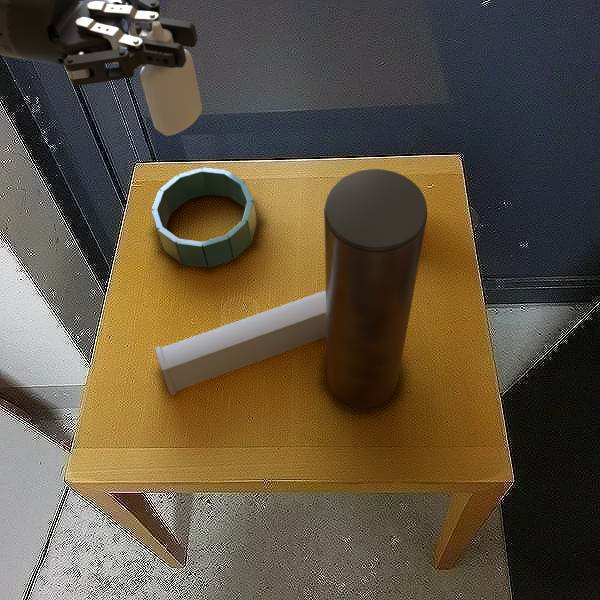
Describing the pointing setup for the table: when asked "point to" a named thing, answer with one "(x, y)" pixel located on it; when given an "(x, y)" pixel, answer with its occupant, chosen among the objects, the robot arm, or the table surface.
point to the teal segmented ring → (196, 186)
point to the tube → (243, 342)
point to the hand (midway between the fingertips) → (188, 45)
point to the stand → (370, 281)
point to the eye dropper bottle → (171, 90)
